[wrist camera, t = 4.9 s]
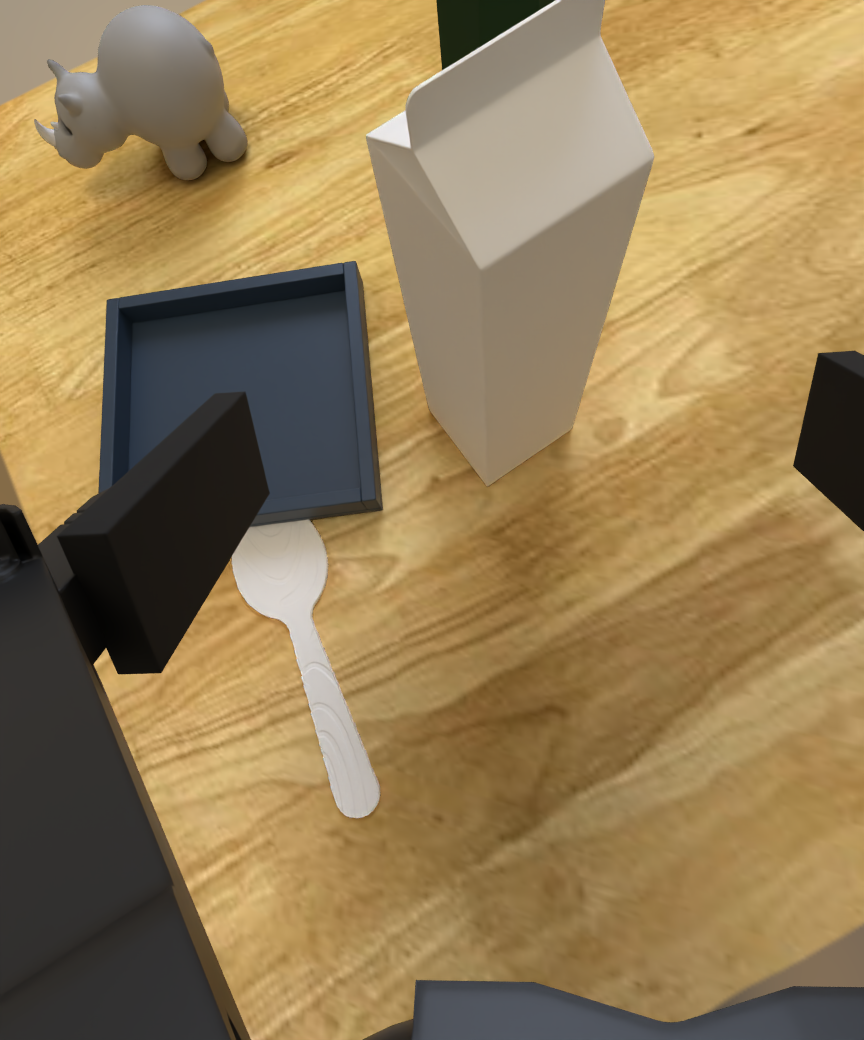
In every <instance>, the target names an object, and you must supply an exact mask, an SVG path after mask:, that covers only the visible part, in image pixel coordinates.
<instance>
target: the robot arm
mask: <svg viewBox="0 0 864 1040" xmlns="http://www.w3.org/2000/svg"><path fill="white" fill-rule="evenodd" d="M793 466H794V467H795V468H796V469H797V470H798V471H799V472H800V473H801V474H802V475H803V476H804V477H805V478H807V479H808V480H809V481H810V482H811V483H812V484H813V485H814V486H815V487H816V488H817V489H818V490H819V491H821V492H822V493H823V494H824V495H825V496H826V497H827V498H828V499H829V500H830V501H831V502H832V503H833V504H835V505H836V506H837V507H838V508H839V509H840V510H841V511H842V512H843V513H844V514H845V515H846V516H847V517H849V518H850V519H851V520H852V521H853V522H854V523H855V524H856V525H857V526H858V527H859V528H860V529H861V530H863V531H864V355H862V354H860V353H858V352H856V351H845V352H830V353H818V357H817V362H816V366H815V371H814V375H813V380H812V384H811V389H810V393H809V397H808V402H807V406H806V411H805V415H804V420H803V424H802V429H801V433H800V438H799V442H798V447H797V451H796V456H795V460H794V465H793ZM269 494H270V492H269V488H268V484H267V480H266V475H265V471H264V467H263V463H262V459H261V454H260V450H259V446H258V442H257V438H256V433H255V429H254V425H253V421H252V417H251V412H250V408H249V404H248V400H247V396H246V391H244V392H229V393H215V394H214V395H212V396H211V397H210V398H209V399H208V400H207V401H206V402H205V403H204V404H202V405H201V406H200V407H199V408H198V409H197V410H196V411H195V412H194V413H192V414H191V415H190V416H189V417H188V418H187V419H186V420H185V421H184V422H183V423H181V424H180V425H179V426H178V427H177V428H176V429H175V430H174V431H173V432H171V433H170V434H169V435H168V436H167V437H166V438H165V439H164V440H163V441H161V442H160V443H159V444H158V445H157V446H156V447H155V448H154V449H153V450H151V451H150V452H149V453H148V454H147V455H146V456H145V457H144V458H143V459H141V460H140V461H139V462H138V463H137V464H136V465H135V466H134V467H133V468H132V469H130V470H129V471H128V472H127V473H126V474H125V475H124V476H123V477H122V478H120V479H119V480H118V481H117V482H116V483H115V484H114V485H113V486H112V487H110V488H108V489H106V490H104V491H103V492H101V493H99V494H97V495H95V496H93V497H92V498H91V499H89V500H88V501H87V502H86V503H85V504H84V505H83V506H81V507H80V508H79V509H78V510H77V513H74V514H72V515H71V516H70V517H69V518H68V519H67V520H66V521H64V525H60V526H59V527H58V528H57V529H55V530H54V531H53V532H52V533H51V534H50V535H49V536H48V537H46V538H45V539H44V540H43V541H42V542H41V543H40V544H38V545H37V543H36V540H35V538H34V536H33V534H32V532H31V530H30V528H29V525H28V523H27V521H26V519H25V517H24V515H23V513H22V510H21V509H19V508H18V507H17V506H14V505H5V504H2V505H0V1040H251V1039H250V1037H249V1034H248V1032H247V1030H246V1027H245V1025H244V1023H243V1020H242V1018H241V1015H240V1013H239V1011H238V1008H237V1006H236V1003H235V1001H234V999H233V996H232V994H231V991H230V989H229V987H228V984H227V982H226V979H225V977H224V975H223V972H222V970H221V967H220V965H219V963H218V960H217V958H216V955H215V953H214V951H213V948H212V946H211V943H210V941H209V939H208V936H207V934H206V932H205V929H204V927H203V924H202V922H201V920H200V917H199V915H198V912H197V910H196V908H195V905H194V903H193V900H192V898H191V896H190V893H189V891H188V888H187V886H186V884H185V881H184V879H183V876H182V874H181V872H180V869H179V867H178V864H177V862H176V860H175V857H174V855H173V852H172V850H171V848H170V845H169V843H168V840H167V838H166V836H165V833H164V831H163V829H162V826H161V824H160V821H159V819H158V817H157V814H156V812H155V809H154V807H153V805H152V802H151V800H150V797H149V795H148V793H147V790H146V788H145V785H144V783H143V781H142V778H141V776H140V773H139V771H138V769H137V766H136V764H135V761H134V759H133V757H132V754H131V752H130V749H129V747H128V745H127V742H126V740H125V737H124V735H123V733H122V730H121V728H120V726H119V723H118V721H117V718H116V716H115V714H114V711H113V709H112V706H111V704H110V702H109V699H108V697H107V694H106V692H105V690H104V687H103V685H102V682H101V680H100V678H99V676H98V674H97V671H96V669H95V667H94V665H93V664H94V663H95V661H96V660H97V659H98V658H99V656H100V655H101V654H102V652H103V651H104V650H105V648H107V650H108V653H109V655H110V657H111V659H112V662H113V664H114V666H115V668H116V671H117V673H118V674H147V673H162V671H163V669H164V668H165V666H166V664H167V663H168V661H169V659H170V658H171V656H172V654H173V653H174V651H175V649H176V648H177V646H178V644H179V643H180V641H181V639H182V638H183V636H184V634H185V633H186V631H187V629H188V628H189V626H190V625H191V623H192V621H193V620H194V618H195V616H196V615H197V613H198V611H199V610H200V608H201V606H202V605H203V603H204V601H205V600H206V598H207V596H208V595H209V593H210V591H211V590H212V588H213V586H214V585H215V583H216V581H217V580H218V578H219V577H220V575H221V573H222V572H223V570H224V568H225V567H226V565H227V563H228V562H229V560H230V558H231V557H232V555H233V553H234V552H235V550H236V548H237V547H238V545H239V543H240V542H241V540H242V538H243V537H244V535H245V534H246V532H247V530H248V529H249V527H250V525H251V524H252V522H253V520H254V519H255V517H256V515H257V514H258V512H259V510H260V509H261V507H262V505H263V504H264V502H265V500H266V499H267V497H268V495H269ZM363 1040H864V987H861V988H860V987H802V986H801V987H800V986H797V987H796V986H793V987H790V988H787V989H783V990H780V991H777V992H774V993H771V994H768V995H765V996H761V997H758V998H755V999H752V1000H749V1001H745V1002H742V1003H739V1004H736V1005H732V1006H730V1007H726V1008H723V1009H720V1010H717V1011H713V1012H710V1013H707V1014H704V1015H701V1016H697V1017H694V1018H691V1019H688V1020H685V1021H680V1022H671V1023H670V1022H662V1021H658V1020H654V1019H651V1018H647V1017H644V1016H641V1015H638V1014H635V1013H631V1012H628V1011H625V1010H622V1009H619V1008H615V1007H612V1006H609V1005H606V1004H603V1003H599V1002H596V1001H593V1000H590V999H586V998H583V997H580V996H577V995H574V994H570V993H567V992H564V991H561V990H558V989H554V988H551V987H548V986H545V985H542V984H538V983H535V982H493V981H432V980H416V985H415V1001H414V1016H413V1019H411V1020H408V1021H405V1022H401V1023H398V1024H395V1025H392V1026H390V1027H388V1028H386V1029H384V1030H381V1031H379V1032H377V1033H375V1034H373V1035H371V1036H369V1037H367V1038H365V1039H363Z"/></svg>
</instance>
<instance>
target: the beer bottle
mask: <svg viewBox="0 0 864 1040" xmlns="http://www.w3.org/2000/svg"><path fill="white" fill-rule="evenodd" d="M554 1H555V0H437V12H438V24H439V36H440V48H441V60H442V70H444V69H445V68H447V67H449V66H450V65H452V64H454V63H455V62H457V61H458V60H460V59H462V58H463V57H465V56H466V55H468V54H470V53H471V52H473V51H475V50H476V49H478V48H479V47H481V46H483V45H484V44H486V43H487V42H489V41H491V40H492V39H494V38H496V37H497V36H499V35H500V34H502V33H504V32H505V31H507V30H508V29H510V28H512V27H513V26H515V25H517V24H518V23H520V22H521V21H523V20H525V19H526V18H528V17H529V16H531V15H533V14H534V13H536V12H537V11H539V10H541V9H542V8H544V7H546V6H547V5H549V4H550V3H552V2H554Z"/></svg>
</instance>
